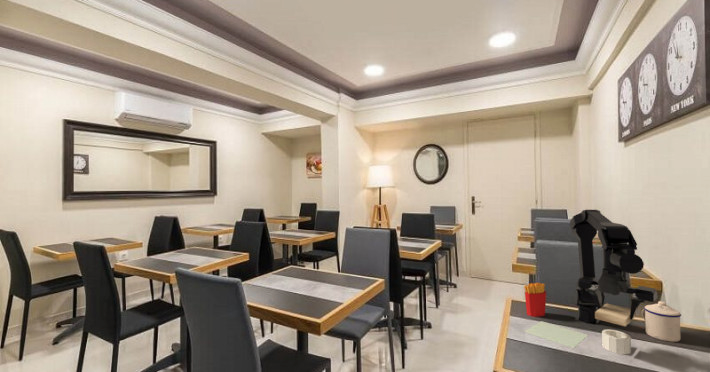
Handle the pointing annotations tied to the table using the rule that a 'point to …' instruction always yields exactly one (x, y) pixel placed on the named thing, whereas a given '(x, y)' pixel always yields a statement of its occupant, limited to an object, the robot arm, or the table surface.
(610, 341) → the bowl
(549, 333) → the mat
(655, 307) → the teacup with lid
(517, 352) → the table surface
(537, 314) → the french fries
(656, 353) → the table surface
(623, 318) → the beige flat block
